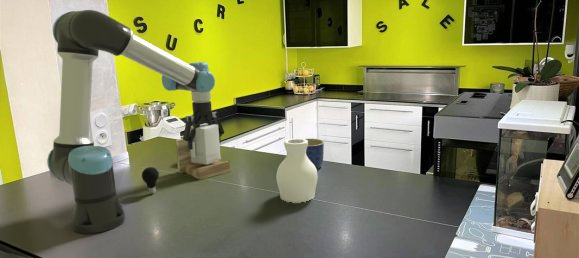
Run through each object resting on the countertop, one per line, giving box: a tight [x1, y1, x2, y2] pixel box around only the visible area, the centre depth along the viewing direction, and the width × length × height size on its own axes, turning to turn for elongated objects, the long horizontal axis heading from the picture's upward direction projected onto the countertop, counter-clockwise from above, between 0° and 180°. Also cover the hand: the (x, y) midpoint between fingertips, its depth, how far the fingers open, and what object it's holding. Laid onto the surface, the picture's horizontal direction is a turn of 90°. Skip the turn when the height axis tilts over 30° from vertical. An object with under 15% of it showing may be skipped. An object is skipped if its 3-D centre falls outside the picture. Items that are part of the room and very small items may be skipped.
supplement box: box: [190, 123, 222, 165], centre depth 177 cm, size 9×9×15 cm
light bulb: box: [141, 166, 160, 195], centre depth 155 cm, size 6×6×10 cm
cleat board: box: [175, 137, 231, 180], centre depth 179 cm, size 15×18×14 cm
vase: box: [275, 137, 318, 204], centre depth 147 cm, size 14×14×20 cm
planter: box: [305, 138, 325, 170], centre depth 181 cm, size 12×12×11 cm
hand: (205, 154), depth 178 cm, fingers closed on supplement box, 10 cm apart
